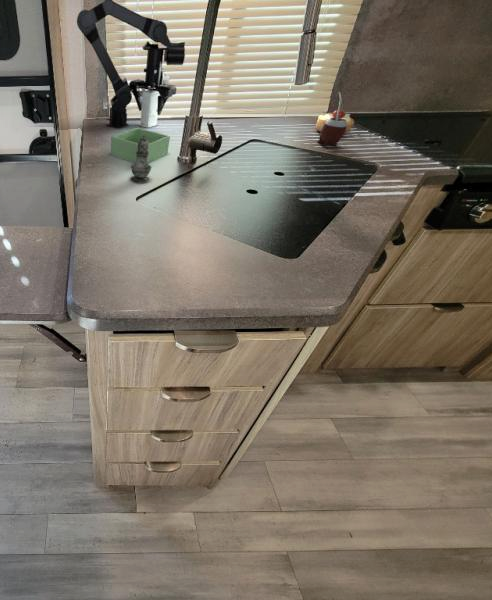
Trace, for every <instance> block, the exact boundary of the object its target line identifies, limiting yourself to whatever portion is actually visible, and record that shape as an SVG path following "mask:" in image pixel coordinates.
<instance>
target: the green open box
mask: <svg viewBox="0 0 492 600" xmlns="http://www.w3.org/2000/svg"><path fill="white" fill-rule="evenodd" d="M144 135H145V138H146V139H147V140H148V141H149V145H148V152H149V154H148V158H147V163H148V164H149V163H151V162H153V161H155V160H157V159H159V158H162V157H164V156H167V155H168V154H169V153H168V152H169V146H170V138H171V136H170V135H168V134H164V133H159V132H156V131H152V130H147V129H145V128H144V129H143V128H140V127H135V128H132V129H130V130H127V131H124V132H120V133H118V134H114V135H111V136H110V155H111V156H114V157H117V158H120V159H123V160H126V161H129V162H132V163H134V164H135V163H136V159H137V154H136V152H137V150H138V141H139V140H140V139H142V138H143V136H144Z"/></svg>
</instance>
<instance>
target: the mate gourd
mask: <svg viewBox="0 0 492 600" xmlns="http://www.w3.org/2000/svg"><path fill="white" fill-rule="evenodd" d="M338 98H339V101H338V107H337V110H338V111H337V116H336V118H330V119H328V120H327V121H326V122H325V124H324V125H323V127H322V130H321V132H320V133H319V139H318V140H317V141H316V142H317V143H318V144H322V145H321V146H322V147H326V146H330V147H334V148H336V147H337V146H338V143H339V142H340V141H341V140H342V138H343V134H344V133H345V131H346V128H347V121H346V120H345V119H342V118H338V115H339V111H340V110H341V108H342V107H341V106H342V104H343V99H342V93H341V92H340V91H338ZM345 134H346V133H345ZM345 134H344V135H345Z"/></svg>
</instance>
